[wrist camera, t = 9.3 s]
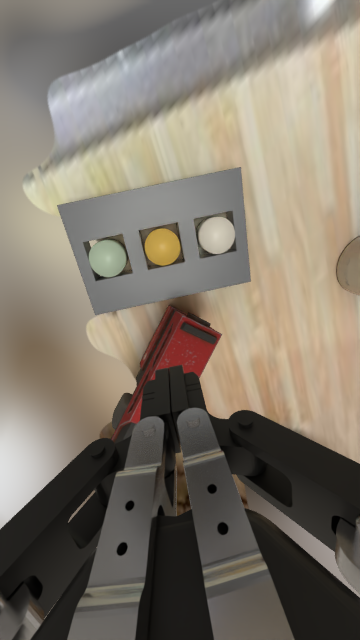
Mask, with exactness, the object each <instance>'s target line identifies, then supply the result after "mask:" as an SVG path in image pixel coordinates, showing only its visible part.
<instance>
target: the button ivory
mask: <svg viewBox="0 0 360 640" xmlns="http://www.w3.org/2000/svg"><path fill="white" fill-rule="evenodd" d="M196 238H197V242H198V244H199V245H200V247H202V248H203V249H204V250H206V251H208V252H210V253H213V254H221V253H224V252H225V251H227V250H228V249H229V248H230V247H231V246H232V244H233V242H234V239H235V230H234V227H233V225H232V223H231V222H230V221H229V220H228V219H226V218H223V217H209V218H206V219H204V220H203V221H202V222H201V223H200V224H199V226H198V227H197V230H196Z"/></svg>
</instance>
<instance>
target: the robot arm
mask: <svg viewBox="0 0 360 640" xmlns="http://www.w3.org/2000/svg"><path fill="white" fill-rule="evenodd" d="M337 277H338V281H339V283H340V284H341V286H342V287H343V288H344V289H345V290H347V291H349V292H352V293H355V294H357V295H360V236H359V237H358V238H356V239H355V240H353V241H352V242H351V243H350V244H349V245H348V246H347V247H346V248H345V250H344V251H343V253H342V255H341V256H340V259H339V262H338V266H337ZM180 445H181V449H182V453H183V458H184V461H183V463H184V469H185V475H186V480H187V486H188V492H189V497H190V503H191V508H192V509H191V510H189V511H187V512H185V513H183V514H181V515H179V516H176V489H177V468H176V456H175V453H179V452H181V449H180ZM232 474H236V475H237V477H238V478H239V480H240V481H242V482H243V483H244V484H245V485H247V486H248V487H250V488H251V489H252V490H253V491H255V492H256V493H257V494H259V495H260V496H261V497H263V498H264V499H265V500H267V501H268V502H269V503H271V504H272V505H273V506H275V507H276V508H277V509H279V510H280V511H281V512H283V513H284V514H285V515H286V516H288V517H289V518H290V519H292V520H293V521H295V522H296V523H297V524H299V525H300V526H301V527H302V528H304V529H305V530H306V531H308V532H309V533H310V534H312V535H313V536H314V537H316V538H317V539H318V540H320V541H321V542H322V543H324V544H325V545H326V546H328V547H329V548H330V549H331V550H333V551H334V552H335V559H336V563H337V565H338V568H339V570H340V572H341V573H342V575H343V576H344V578H345V579H346V581H347V582H348V583H349V584H350V585H351V586H352V587H353V588H354V589H355V590H356V591H357V592H358V593H359V594H360V464H359V463H357V462H355V461H353V460H351V459H349V458H347V457H345V456H343V455H341V454H339V453H337V452H335V451H333V450H330V449H328V448H326V447H324V446H322V445H320V444H318V443H316V442H314V441H312V440H310V439H308V438H306V437H304V436H302V435H300V434H298V433H296V432H294V431H292V430H290V429H288V428H286V427H284V426H282V425H280V424H278V423H276V422H274V421H272V420H269V419H267V418H265V417H263V416H261V415H259V414H257V413H255V412H253V411H249V410H241V411H237V412H235V413H233V414H232V415H231V416H230V418H229V419H219V418H216V417H213V416H212V415H210V414H209V413H208V411H207V409H206V405H205V401H204V397H203V393H202V389H201V385H200V381H199V377H198V375H196V374H195V373H194V372H189V373H184V370H183V366H182V365H178V366H173V367H169V368H163V369H158V370H155V380H150V381H147V383H146V384H145V386H144V387H143V396H142V404H141V414H140V421H139V422H138V423H137V424H136V425H135V427H134V429H133V432H132V435H131V436H129V437H128V438H126V439H124V440H122V441H120V442H118V443H116V444H115V443H114V442H113V440H111V439H109V438H102V439H98V440H96V441H94V442H92V443H91V444H90V445H88V446H87V447H86V448H85V449H84V450H83V451H82V452H81V453H80V454H79V455H78V456H77V457H76V458H75V459H74V460H73V461H72V462H70V464H68V465H67V466H66V467H65V468H64V469H63V470H62V471H61V472H60V473H59V474H58V475H57V476H56V477H55V478H54V479H53V480H52V481H51V482H49V483H48V484H47V485H46V486H45V487H44V488H43V489H42V490H41V491H40V492H39V493H38V494H37V495H36V496H35V497H34V498H33V499H32V500H31V501H30V502H29V503H28V504H26V505H25V506H24V507H23V508H22V509H21V510H20V511H19V512H18V513H17V514H16V515H15V516H14V517H13V518H12V519H11V520H10V521H9V522H8V523H6V524H5V525H4V527H2V528H1V529H0V640H360V598H359V597H358V596H357V595H356V594H355V593H354V592H352V591H351V590H350V589H349V588H348V587H347V586H345V585H344V584H343V583H342V582H341V581H340V580H338V579H337V578H336V577H335V576H334V575H333V574H331V573H330V572H329V571H328V570H327V569H326V568H325V567H323V566H322V565H321V564H320V563H319V562H318V561H316V560H315V559H314V558H313V557H312V556H310V555H309V554H308V553H307V552H306V551H305V550H304V549H303V548H301V547H300V546H299V545H298V544H297V543H296V542H295V541H293V540H292V539H291V538H290V537H289V536H288V535H286V534H285V533H284V532H283V531H282V530H281V529H279V528H278V527H277V526H276V525H275V524H274V523H272V522H271V521H270V520H268V519H267V518H266V517H264V516H262V515H261V514H258V513H257V512H255V511H252V510H249V509H245V508H244V506H243V504H242V501H241V498H240V495H239V493H238V490H237V487H236V484H235V482H234V479H233V476H232ZM93 490H95V493H94V494H93V495H92V496H91V497H90V499H89V500H88V501H87V502H86V503H85V504H84V506H83V507H82V508H81V509H80V510H79V511H78V513H77V514H76V515H75V516H74V517H73V518H72V519H71V520H70V522H69V523H68V521H69V519H70V517H71V515H72V514H73V513H74V512H75V511H76V510H77V508H78V507H79V506H80V505H81V504H82V503H83V502H84V501H85V499H86V498H87V497H88V496H89V495H90V494H91V492H92V491H93ZM96 547H97V548H96ZM60 596H61V597H60ZM57 600H58V601H57ZM55 603H56V604H55ZM54 604H55V605H54ZM53 606H54V607H53ZM52 607H53V608H52ZM51 608H52V609H51ZM50 610H51V611H50ZM49 611H50V612H49ZM48 613H49V614H48ZM47 614H48V615H47ZM46 615H47V617H46ZM45 617H46V618H45ZM44 618H45V619H44Z"/></svg>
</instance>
